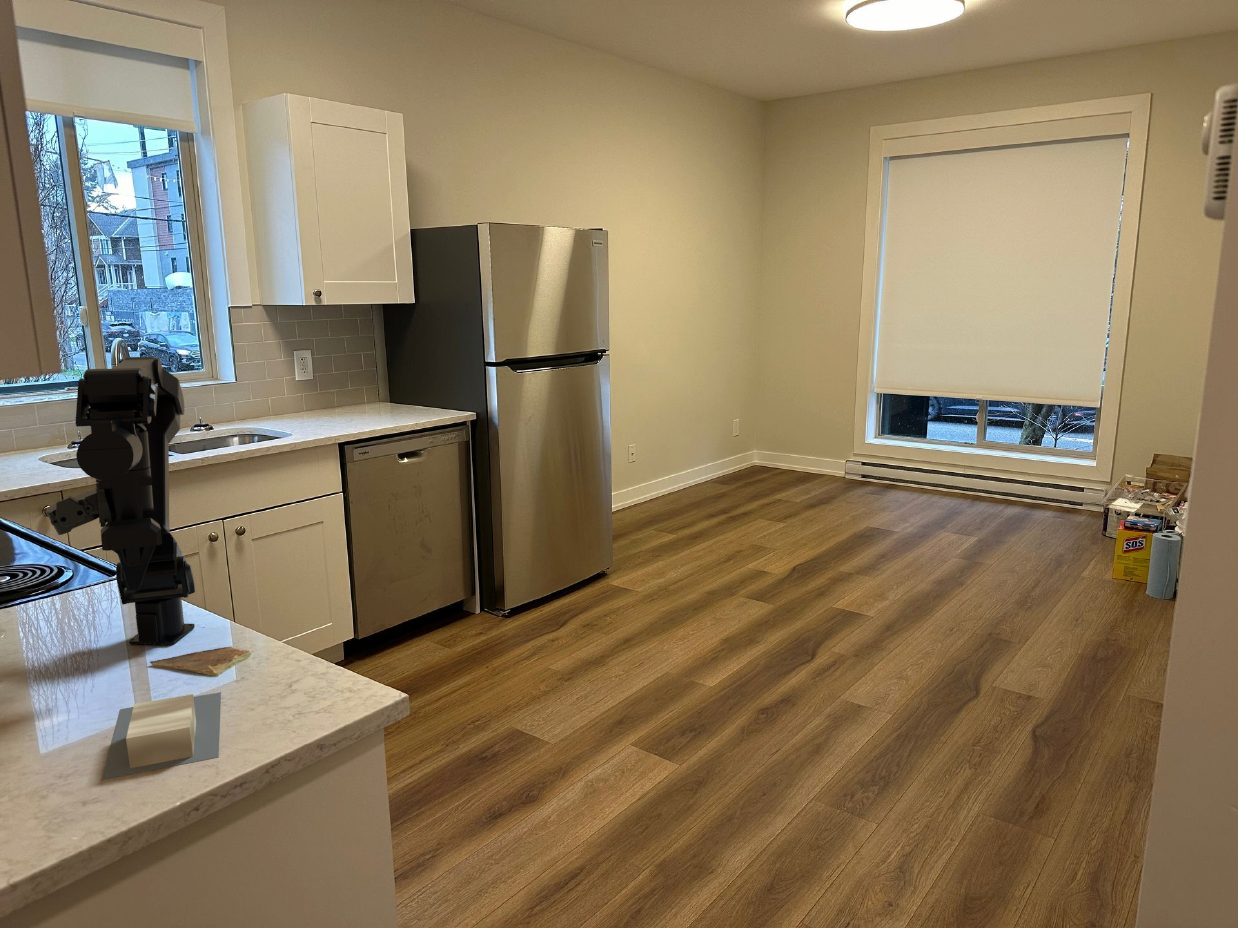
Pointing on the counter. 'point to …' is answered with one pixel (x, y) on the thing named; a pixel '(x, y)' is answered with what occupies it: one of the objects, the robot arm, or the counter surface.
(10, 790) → the counter surface
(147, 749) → the beige block
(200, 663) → the shard
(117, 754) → the rubber mat
